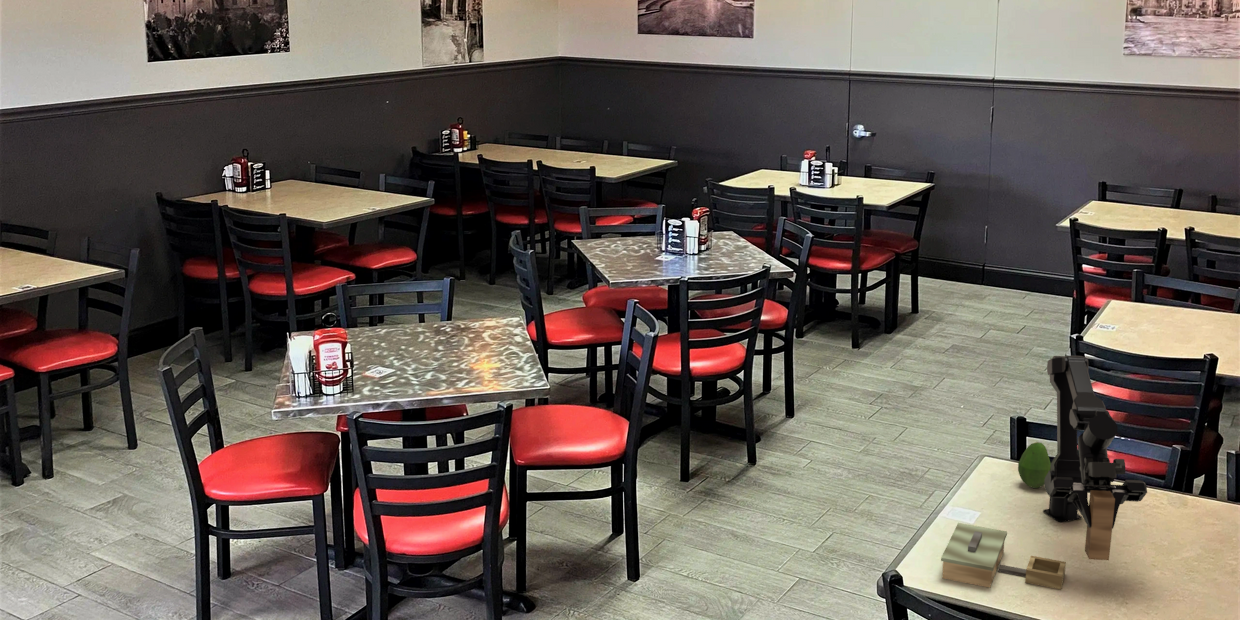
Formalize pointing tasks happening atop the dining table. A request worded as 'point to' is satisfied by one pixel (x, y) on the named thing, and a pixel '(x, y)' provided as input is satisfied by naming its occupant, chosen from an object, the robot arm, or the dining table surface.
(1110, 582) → the dining table surface
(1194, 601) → the dining table surface
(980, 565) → the wooden box with frame
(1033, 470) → the avocado
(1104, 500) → the brown wooden block
